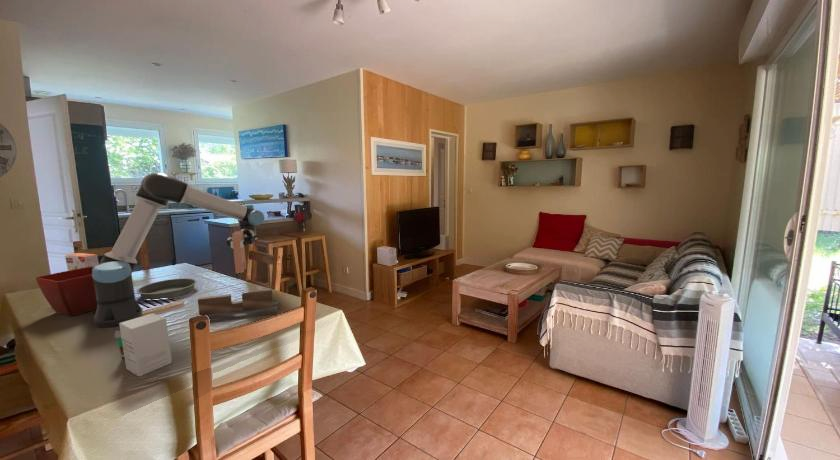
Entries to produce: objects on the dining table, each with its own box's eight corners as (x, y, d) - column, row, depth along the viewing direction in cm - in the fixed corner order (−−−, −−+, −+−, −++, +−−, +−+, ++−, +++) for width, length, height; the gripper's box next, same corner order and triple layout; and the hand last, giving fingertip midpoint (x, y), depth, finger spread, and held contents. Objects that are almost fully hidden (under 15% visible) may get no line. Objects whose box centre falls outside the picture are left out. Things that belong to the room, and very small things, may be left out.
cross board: (199, 311, 150) (197, 293, 148) (279, 302, 159) (277, 285, 158) (189, 324, 136) (187, 304, 135) (276, 313, 146) (275, 295, 145)
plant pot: (41, 314, 149) (33, 276, 146) (96, 300, 166) (90, 266, 163) (64, 321, 141) (57, 281, 139) (119, 305, 159) (114, 269, 156)
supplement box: (159, 355, 112) (153, 312, 110) (173, 363, 108) (167, 317, 106) (125, 369, 105) (118, 322, 103) (138, 377, 100) (131, 328, 98)
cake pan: (138, 292, 177) (137, 284, 176) (195, 283, 192) (194, 275, 191) (136, 306, 158) (135, 297, 157) (199, 295, 172) (198, 286, 172)
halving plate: (239, 268, 164) (235, 231, 161) (246, 267, 165) (243, 230, 162) (235, 273, 156) (232, 233, 153) (243, 272, 157) (239, 233, 154)
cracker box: (71, 295, 172) (64, 254, 169) (85, 291, 178) (79, 252, 175) (90, 298, 168) (83, 256, 165) (104, 294, 174) (98, 253, 171)
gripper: (262, 243, 178) (256, 252, 156) (227, 245, 173) (216, 254, 151) (261, 228, 177) (255, 235, 155) (226, 230, 172) (215, 237, 150)
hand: (236, 245), depth 153 cm, fingers closed on halving plate, 3 cm apart
